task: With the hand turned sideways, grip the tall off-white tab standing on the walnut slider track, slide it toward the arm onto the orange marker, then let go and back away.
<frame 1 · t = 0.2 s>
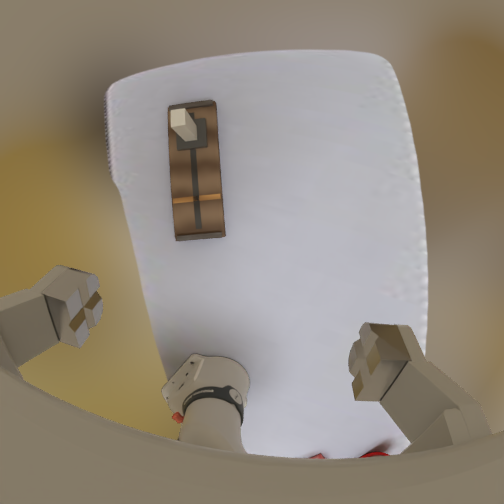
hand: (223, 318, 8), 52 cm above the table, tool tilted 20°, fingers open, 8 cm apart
fader track: (196, 170, 58), on the table
fader tab: (185, 127, 49), point 8 cm above the table, slide at 0.0 cm
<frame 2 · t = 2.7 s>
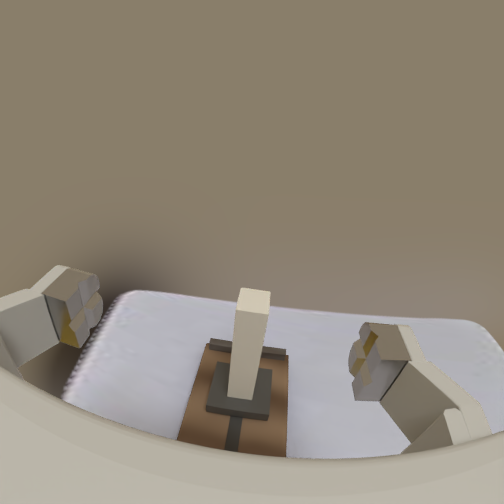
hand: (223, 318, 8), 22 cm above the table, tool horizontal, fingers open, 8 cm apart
fader track: (229, 459, 23), on the table
fader tab: (246, 354, 25), point 8 cm above the table, slide at 0.0 cm
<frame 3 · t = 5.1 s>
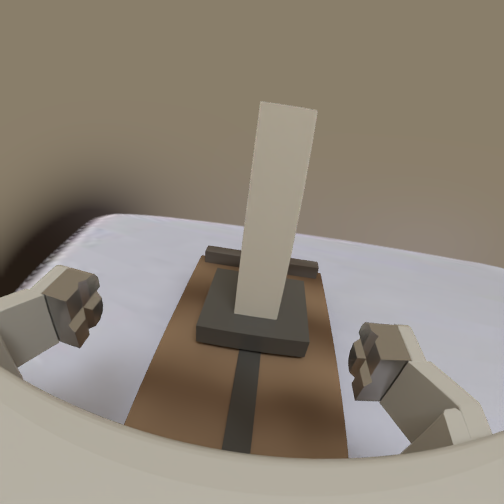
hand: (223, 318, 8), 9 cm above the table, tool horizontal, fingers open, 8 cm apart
fader track: (237, 432, 13), on the table
fader tab: (269, 224, 15), point 8 cm above the table, slide at 0.0 cm
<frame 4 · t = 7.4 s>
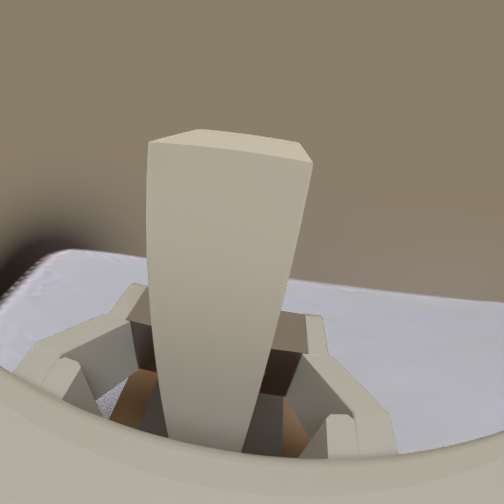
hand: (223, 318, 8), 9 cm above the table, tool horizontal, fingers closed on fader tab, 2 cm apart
fader tab: (215, 365, 8), point 8 cm above the table, slide at 0.0 cm, touching gripper
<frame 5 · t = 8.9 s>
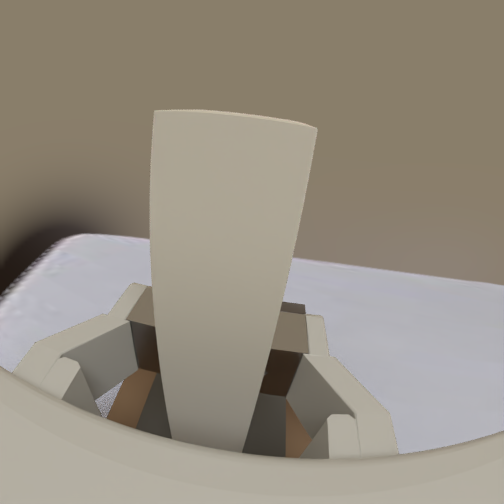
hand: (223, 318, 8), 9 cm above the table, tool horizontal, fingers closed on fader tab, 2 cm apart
fader tab: (218, 350, 8), point 8 cm above the table, slide at 3.3 cm, touching gripper
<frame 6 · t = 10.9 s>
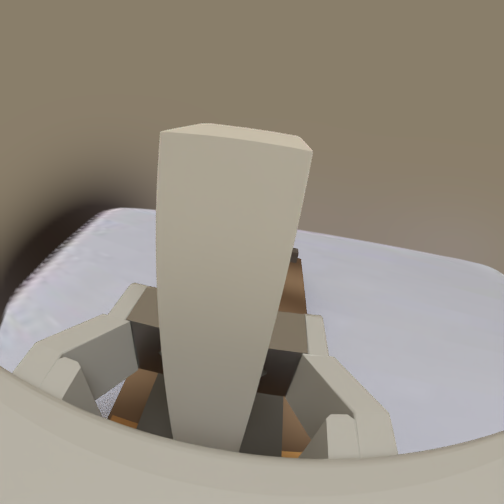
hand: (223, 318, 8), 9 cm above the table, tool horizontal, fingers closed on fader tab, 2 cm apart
fader track: (224, 379, 17), on the table
fader tab: (218, 352, 8), point 8 cm above the table, slide at 12.4 cm, touching gripper
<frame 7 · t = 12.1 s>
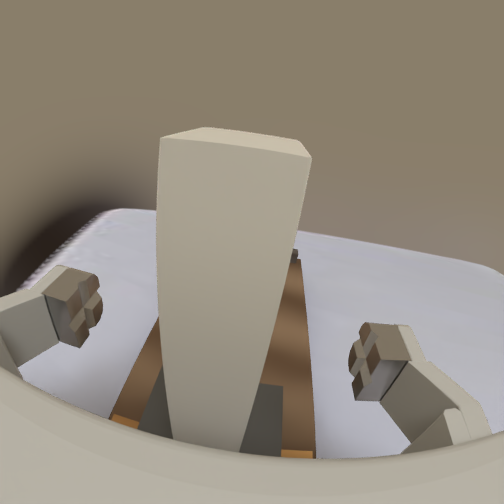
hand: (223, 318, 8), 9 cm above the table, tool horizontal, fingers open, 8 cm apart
fader track: (224, 379, 17), on the table
fader tab: (218, 355, 8), point 8 cm above the table, slide at 12.6 cm
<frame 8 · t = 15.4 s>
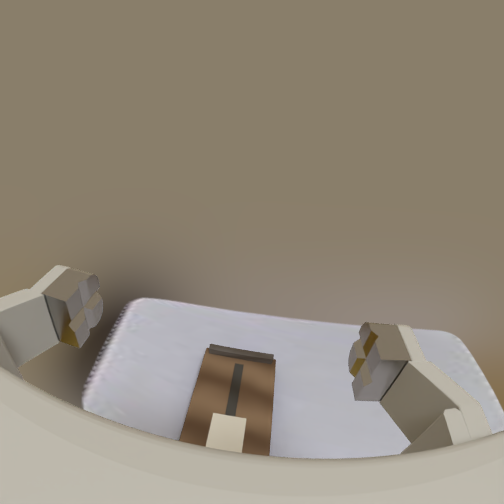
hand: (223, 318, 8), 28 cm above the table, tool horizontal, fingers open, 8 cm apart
fader track: (224, 445, 29), on the table
fader tab: (221, 461, 20), point 8 cm above the table, slide at 12.6 cm
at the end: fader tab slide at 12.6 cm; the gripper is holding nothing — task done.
